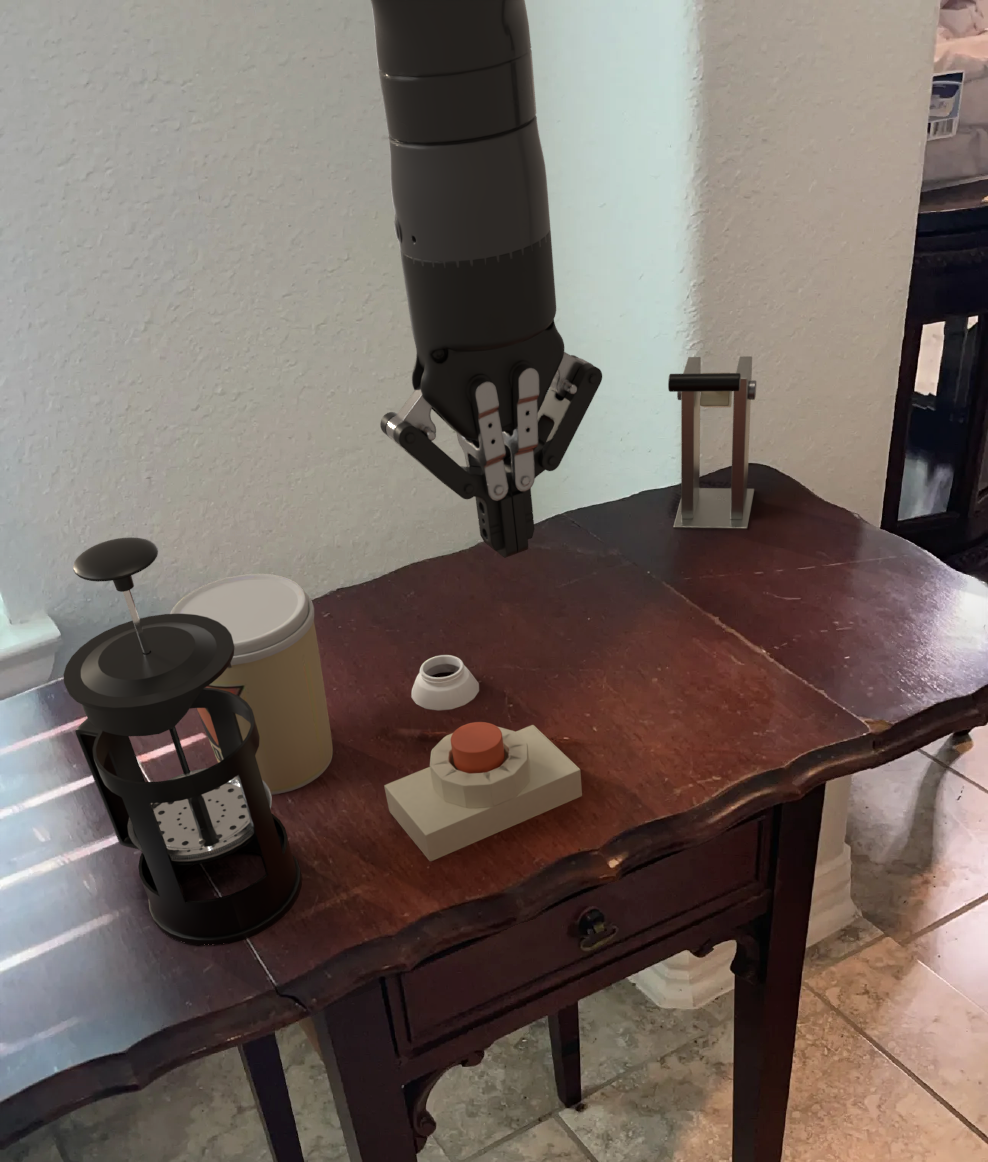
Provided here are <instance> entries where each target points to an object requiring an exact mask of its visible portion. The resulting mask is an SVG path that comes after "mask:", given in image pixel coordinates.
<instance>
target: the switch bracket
mask: <svg viewBox="0 0 988 1162" xmlns="http://www.w3.org/2000/svg"><path fill="white" fill-rule="evenodd" d="M701 363H702V357H701V356H688V357H687V360H686V363H685V366H684V369H683V373H682V374H693V373H702V372H701V371H702V365H701ZM752 371H753V356H752V355H751V356H750V355H749V356H748V355H747V356H744V355H743V356H739V357H738V361H737V365H736V370H735V373H740V374H741V384H740V390H739V391H733V405H732V441H731V442H732V443H731V477H730V478H731V479H730V480H731V481H730V487H729V488H728V487H727V488H726V487H724V488H719V487H717V488H716V487H712V488H711V487H708V488H707V487H700V480H701V479H700V478H701V477H700V476H701V475H700V473H701V467H700V466H701V465H700V464H701V459H700V458H701V406H700V397H701V392H676V393H677V394H676V396H677V397H676V399H677V401H680V418H681V421H680V430H681V431H680V436H681V437H680V439H681V440H680V444H681V447H680V450H681V451H680V453H681V454H680V460H681V461H680V472H681V473H680V479H681V481H680V485H681V486H680V487H681V488H680V490H681V491H680V494H681V495H680V500H679V504H678V508H677V512H676V516H675V519H674V523H673V525H672V526H673V527H672V528H673V529H672V530H711V531H712V530H714V531H715V530H716V531H721V530H724V531H728V530H729V531H748V528H749V522H750V518H751V511H752V507H753V502H754V495H755V488H748V487H749V485H748V484H749V459H750V455H749V454H750V433H751V431H750V430H751V428H750V427H751V405H752V403H751V402H752V401H754V400H756V396H757V380H754V379H753V378H752V375H753V374H752V373H753V372H752ZM752 379H753V380H752Z"/></svg>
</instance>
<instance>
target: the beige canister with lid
mask: <svg viewBox="0 0 988 1162" xmlns="http://www.w3.org/2000/svg"><path fill="white" fill-rule="evenodd" d="M169 614H194V615H199V616H204V617H208V618H210V619H213V620H215V621H218V622H219V623H221V624H222V625H223V626H225V627H226V628H227V629H228V631H229V632H230V633H231V635H232V639H233V643H234V646H235V648H234V656H233V658H232V660H231V666H232V668H228V667H227V669H226V670H225V671H224V672H223V674H222V675H221V676H219V677H218V678H217V679H216V680H215V681H214V682H213V683H211V684H210V685H208V686H207V687H205V688H215V689H220V690H224V691H228V692H231V693H233V694H235V695H238V696H239V697H241V698H242V699H243V700H245V701H246V702H247V703H248V704H249V706H250V707H251V709H252V711H253V714H254V718H255V722H256V725H257V729H258V733H259V736H260V739H259V747H258V750H257V752H256V755H255V757H256V760H257V764H258V767H259V771H260V774H261V778H262V780H263V781H264V782H265V783H266V785H267V786H268V788H269V789H270V793H271V796H273V795H279V794H284V793H289V792H292V791H295V790H297V789H300V788H303V787H305V786H307V785H308V784H310V783H312V782H314V781H315V780H316V779H318V778H319V777H320V776H321V775H323V774H324V772H326V770H327V769H328V767H329V766H330V764H331V762H332V759H333V753H334V750H333V747H334V746H333V739H332V738H333V737H332V732H331V725H330V717H329V711H328V704H327V696H326V689H325V683H324V677H323V675H324V674H323V670H322V661H321V656H320V649H319V644H318V637H317V631H316V625H315V606H314V602H313V601H312V598H311V597H310V595H309V594H308V593H307V592H306V591H305V590H304V589H303V586H301V585H300V584H299V583H297V582H296V581H294V580H293V579H290V578H288V577H285V576H281V575H277V574H272V573H271V574H270V573H246V574H238V575H233V576H227V577H224V578H219V579H217V580H214V581H213V580H212V581H211V582H209V583H206V584H203V585H202V586H200V587H197V588H195V589H194V590H192V591H190V592H189V593H187V594H186V595H184V596H183V597H182V598H181V599H179V600H178V602H177V603H176V604H174V606H173V608H172V609H171V611H170V613H169ZM195 709H196V711H197V714H198V716H199V719H200V721H201V724H202V726H203V729H204V731H205V734H206V736H207V739H208V741H209V744H210V746H211V749H212V751H213V755H214V756H215V759H216V761H217V763H219V762H220V761H222V760H223V756H222V752H221V749H220V746H219V742H218V739H217V736H216V733H215V729H214V726H213V723H212V720H211V716H210V713H209V710H208V708H195ZM235 714H236V713H235ZM236 718H237V721H238V725H239V728H240V732H241V735H242V738H243V741H244V739H245V738H246V737H247V734H248V732H249V729H250V726H251V724H250V723H249V722H248V721H247V720H246V719H244V718H243V717H242V716H240V715H238V714H236Z"/></svg>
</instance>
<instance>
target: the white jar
mask: <svg viewBox="0 0 988 1162" xmlns="http://www.w3.org/2000/svg"><path fill="white" fill-rule="evenodd" d="M444 673H451V674H450V675H447V676H440V677H438V676H437V677H435V675H438V674H444ZM479 692H480V683H479V682H478V680H477V678H476V677H475V676H474V675H473V674H472V672H471V671H470V670H469V668H468V667H467V666H466V665H465V664H464V662H463V660H462V659H461V658H459V657H457V656H455V655H451V654H439V655H435V656H433V657H430V658H428V659H427V660H425V661H424V662H423V663H422V664H421V666H420V668H419V672H418V674H417V675H416V677H415V680H414V682H413V686H412V688H411V695H410V697H411V699H412V700H413V702H414V703H415V705H418V706H419V707H421V708H424V709H425V710H431V711H449V710H454V709H457V708H459V707H463V706H465V705H467V704H468V703H470V702H472V701H473V700H474V699H475V698H476V696H477V695H478V694H479Z"/></svg>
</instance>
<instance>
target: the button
mask: <svg viewBox="0 0 988 1162" xmlns="http://www.w3.org/2000/svg"><path fill="white" fill-rule="evenodd" d="M498 727H499V726H497V725H495V724H494V723H491V722H485V721H473V722H470V723H466V724H463V725H461V726H460V727H458V728H456V729H455V730H454V731H453V732H452V733H453V734H452V733H451V734H452V736H451V747H452V753H453V760H454V764H455V766H456V768H457V769H458V770H460V771H462V772H466V773H469V774H471V773H486V772H489V771H491V770H493V769H496V768H498V767H500V766H501V765H502V763H503V762H504V759H505V754H504V746H503V737H502V732H501V730H500V729H499V728H498Z"/></svg>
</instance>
